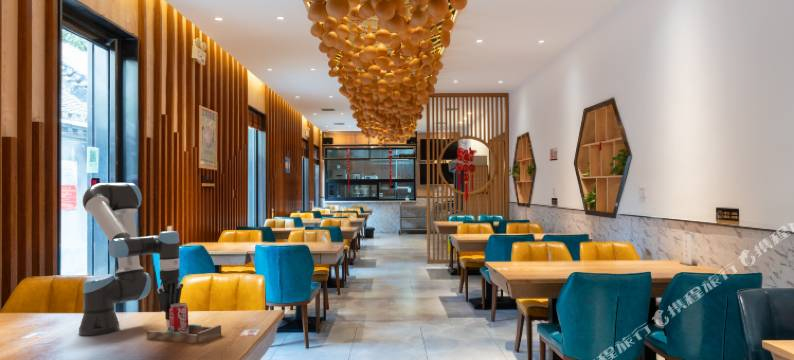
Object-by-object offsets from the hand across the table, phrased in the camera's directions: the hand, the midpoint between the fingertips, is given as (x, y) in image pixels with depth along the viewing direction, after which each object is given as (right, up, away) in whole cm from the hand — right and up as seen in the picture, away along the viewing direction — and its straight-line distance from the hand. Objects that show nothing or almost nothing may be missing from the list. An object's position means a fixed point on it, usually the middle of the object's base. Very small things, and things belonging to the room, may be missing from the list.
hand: (170, 327), depth 212 cm
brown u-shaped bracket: (+6, -3, -2) cm, 7 cm away
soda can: (+4, -4, -2) cm, 6 cm away
